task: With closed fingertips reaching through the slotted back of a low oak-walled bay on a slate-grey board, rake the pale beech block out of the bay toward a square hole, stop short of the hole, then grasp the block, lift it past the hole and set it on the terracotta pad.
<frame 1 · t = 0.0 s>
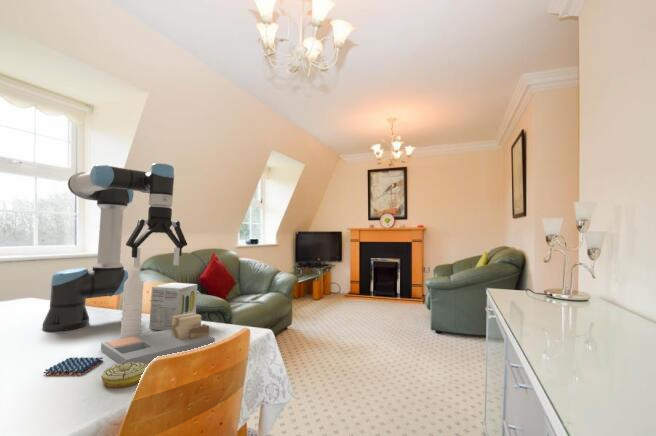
hand: (157, 266, 116), 28 cm above the table, fingers open, 13 cm apart
decorated donut: (125, 381, 88), on the table
woven mat: (74, 370, 95), on the table
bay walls: (191, 329, 122), on the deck, point 4 cm above the table
water bottle: (133, 337, 124), on the table
supplement box: (173, 326, 140), on the table
block: (186, 335, 121), point 2 cm above the table, touching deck
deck: (165, 347, 115), on the table
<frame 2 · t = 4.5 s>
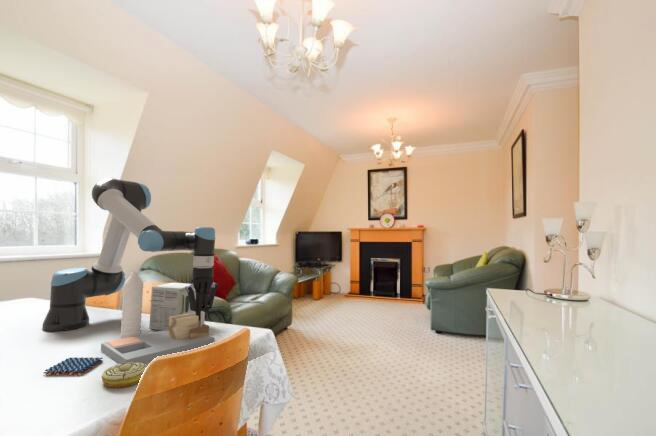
hand: (200, 328, 125), 4 cm above the table, fingers closed
block: (183, 335, 120), point 3 cm above the table, touching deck, gripper
everything else where it was.
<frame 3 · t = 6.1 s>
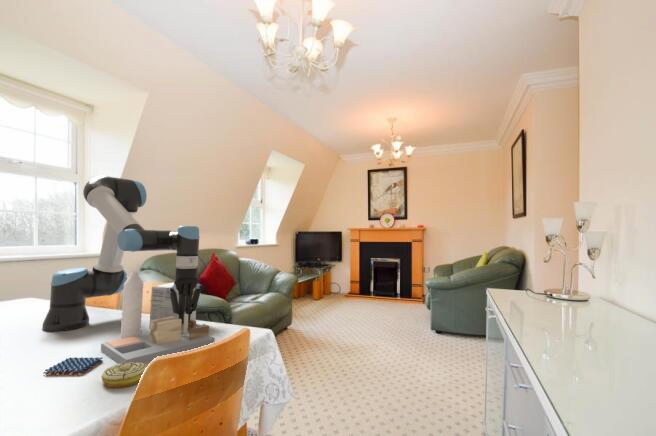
hand: (183, 332, 120), 4 cm above the table, fingers closed
block: (165, 340, 114), point 2 cm above the table, touching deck, gripper
everything else where it was.
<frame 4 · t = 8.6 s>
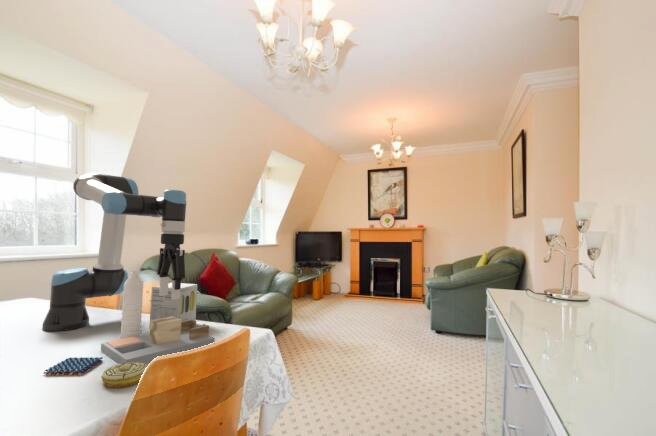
hand: (169, 296, 116), 17 cm above the table, fingers open, 8 cm apart
block: (164, 340, 114), point 2 cm above the table, touching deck
everything else where it was.
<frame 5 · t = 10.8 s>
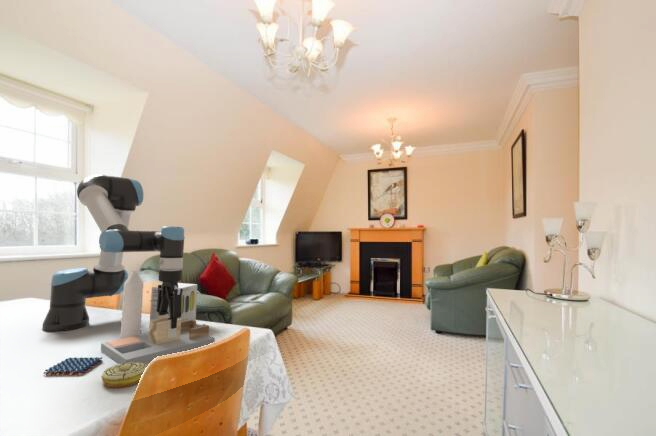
hand: (167, 335, 115), 4 cm above the table, fingers closed on block, 6 cm apart
block: (164, 339, 114), point 3 cm above the table, touching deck, gripper
everything else where it was.
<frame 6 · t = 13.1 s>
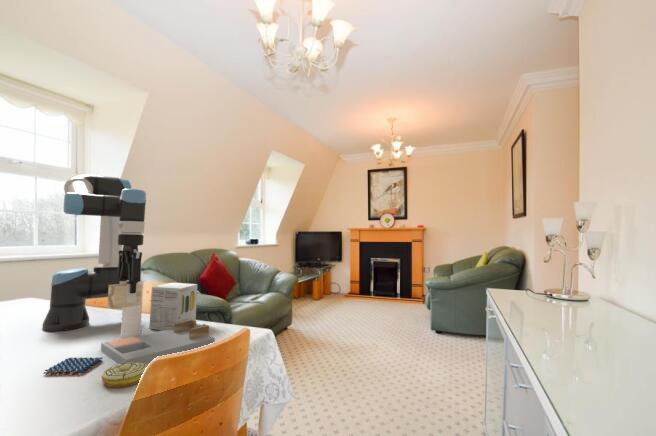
hand: (127, 301, 112), 16 cm above the table, fingers closed on block, 6 cm apart
block: (124, 305, 111), point 15 cm above the table, touching gripper
everything else where it was.
when the fingers open (6 cm above the table, at t = 15.2 s): block drops 1 cm, resting on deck.
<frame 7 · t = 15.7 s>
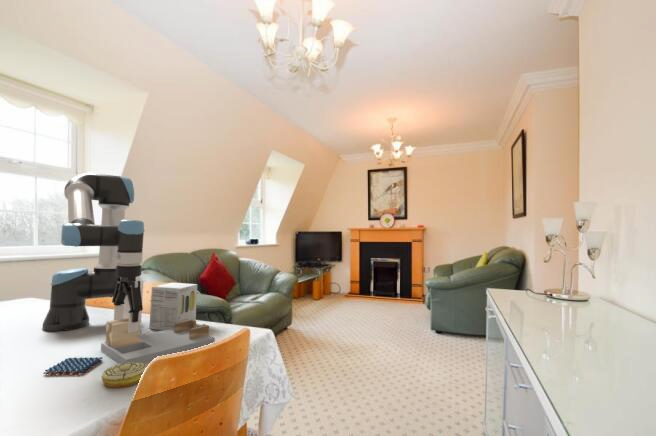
hand: (125, 328, 111), 7 cm above the table, fingers open, 12 cm apart
block: (121, 341, 110), point 3 cm above the table, touching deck
everything else where it was.
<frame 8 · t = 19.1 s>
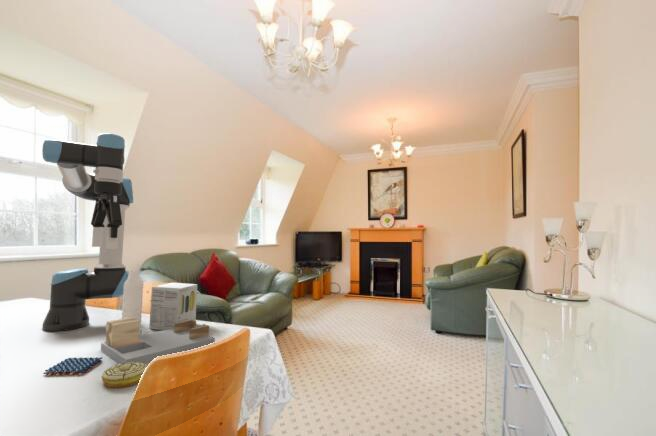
hand: (104, 247, 105), 35 cm above the table, fingers open, 13 cm apart
nothing on the table moved.
at the end: block inside the target area on the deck (0.7 cm from its centre), point 2.7 cm above the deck's base; block tilted 0°; the gripper is holding nothing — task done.
